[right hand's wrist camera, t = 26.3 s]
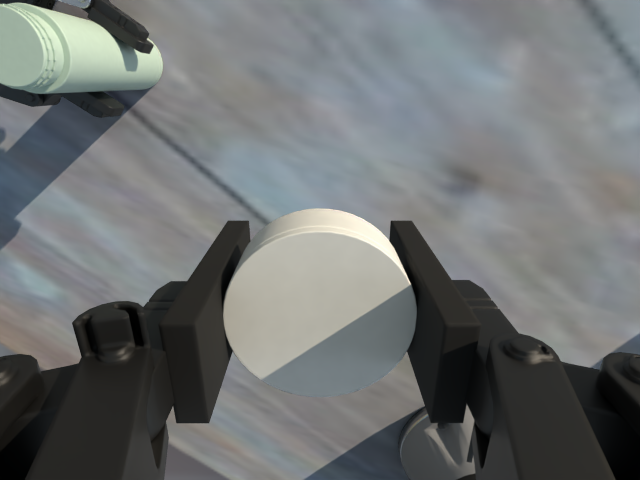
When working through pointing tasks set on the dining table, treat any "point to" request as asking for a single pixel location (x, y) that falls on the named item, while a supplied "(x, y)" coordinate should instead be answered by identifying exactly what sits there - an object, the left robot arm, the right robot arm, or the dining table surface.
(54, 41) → the pale green cylinder
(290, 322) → the lid
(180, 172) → the dining table surface
